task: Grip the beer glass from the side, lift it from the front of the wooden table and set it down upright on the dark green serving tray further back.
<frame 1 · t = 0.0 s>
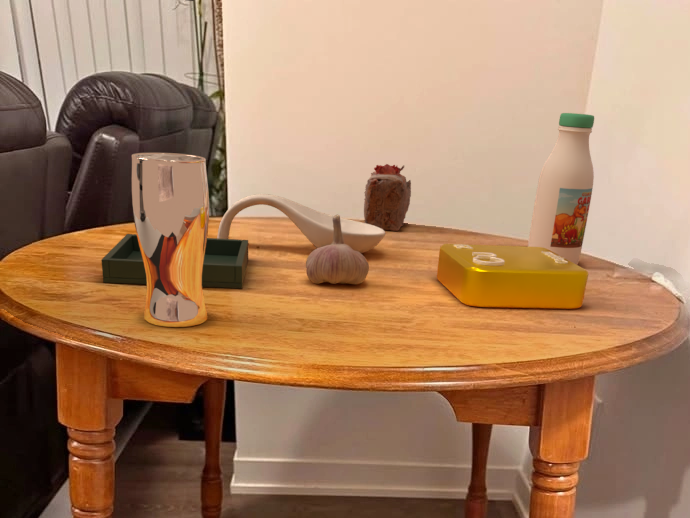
food item: (385, 225, 136), on the table
beer glass: (176, 320, 77), on the table
garlic bulb: (336, 284, 95), on the table
element tile: (505, 294, 96), on the table
milk bottle: (551, 263, 115), on the table
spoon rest: (301, 251, 111), on the table
serving tray: (181, 270, 96), on the table
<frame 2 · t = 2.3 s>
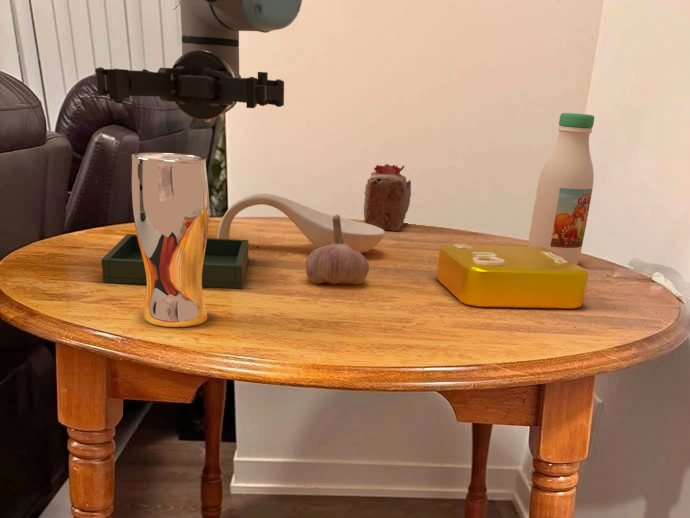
hand: (181, 89, 78), 20 cm above the table, tool horizontal, fingers open, 13 cm apart
nothing on the table moved.
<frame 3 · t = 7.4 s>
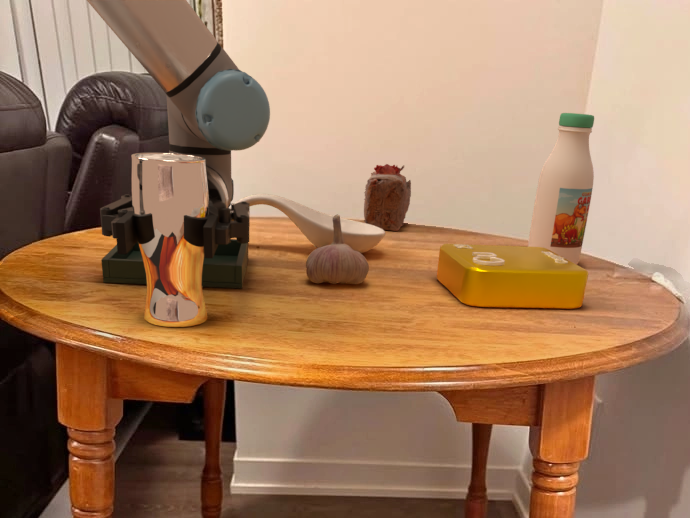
hand: (164, 240, 69), 8 cm above the table, tool horizontal, fingers closed on beer glass, 7 cm apart
beer glass: (176, 320, 77), on the table, touching gripper
everything else where it was.
when the fingers open (9 cm above the table, at t = 15.3 s): beer glass stays where it is, resting on serving tray.
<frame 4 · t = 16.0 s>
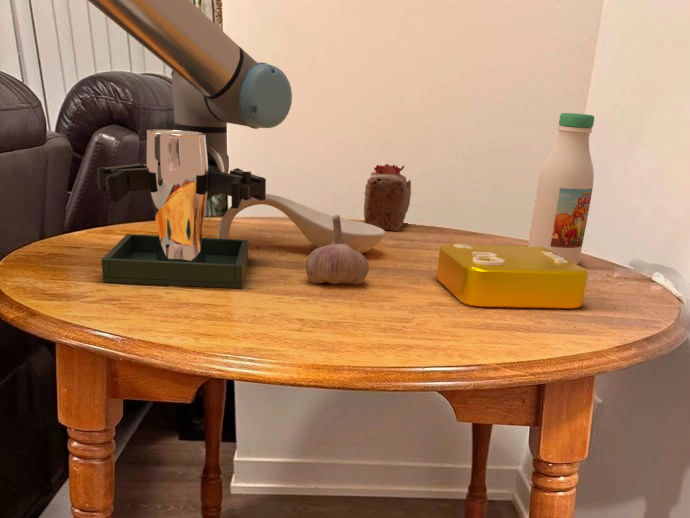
hand: (174, 192, 88), 9 cm above the table, tool horizontal, fingers open, 13 cm apart
beer glass: (181, 266, 95), resting on serving tray
everything else where it was.
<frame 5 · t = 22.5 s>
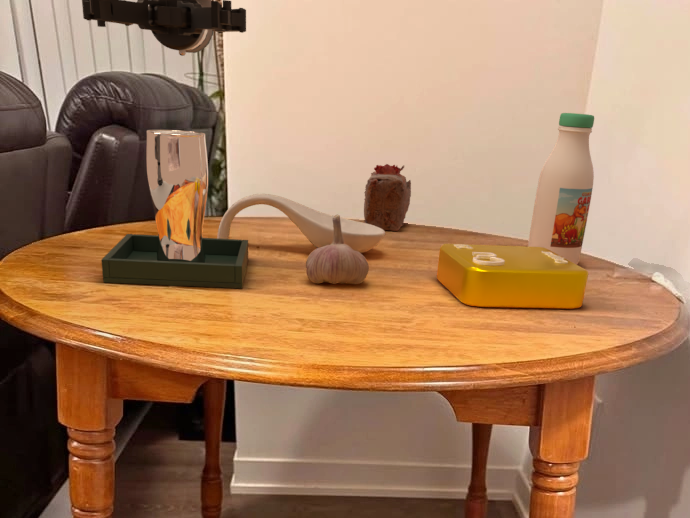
hand: (155, 9, 91), 28 cm above the table, tool horizontal, fingers open, 13 cm apart
nothing on the table moved.
at the end: beer glass inside the target area in the serving tray (0.0 cm from its centre), point 0.4 cm above the serving tray's base; beer glass tilted 0°; the gripper is holding nothing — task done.
